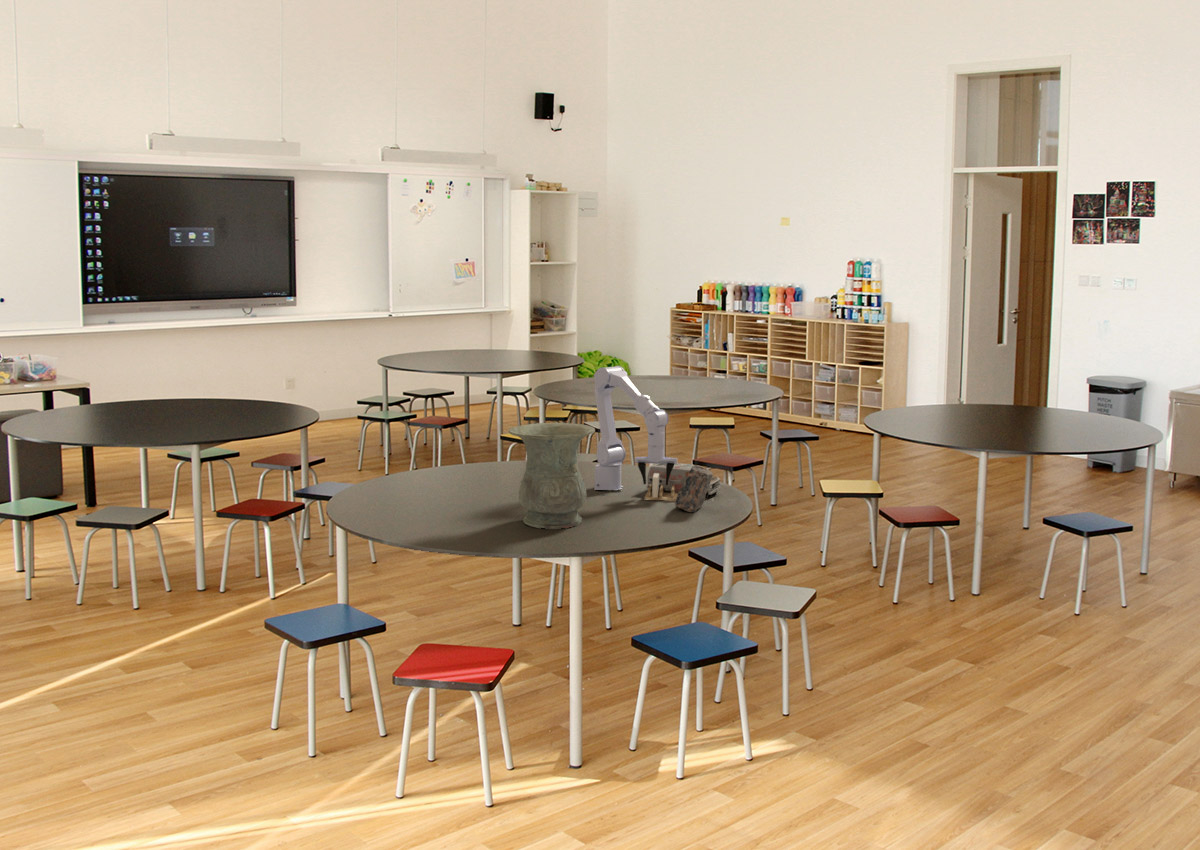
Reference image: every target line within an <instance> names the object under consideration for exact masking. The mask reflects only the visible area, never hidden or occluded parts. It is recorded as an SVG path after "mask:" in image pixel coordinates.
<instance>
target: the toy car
mask: <svg viewBox="0 0 1200 850" xmlns="http://www.w3.org/2000/svg"><path fill="white" fill-rule="evenodd" d="M666 465H667V464H655V463H653V464H651V465H650V466H649V471H648V473H647V475H646V486H645V487H646V489H648V488H649V485H650V484H652V490H653V475H654V473H659V492H660V487H661V484H663V485H664V490H663V493H666V492H671V489H672V486H673V485H675V493H678V492H679V490H680V489H681V487H682V485H683V483H684V481H685V479H686V478H687V476H688V474H689V472H690V470H691V468H692V466H694V465H695V464H690V463H680V462H677V464H674V467H673V469H672V471H671V474H670V476H669V481H668V485H666ZM720 484H721V478H720V477H718V476H712V479H711V482H710V484H709V487H708V489H707V493H706V495H705V498H706V499H709V495H710V496H711V495H713V494H714V495H715V494H717V493H718V491H719V490H720V488H721V485H720Z"/></svg>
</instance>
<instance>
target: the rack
mask: <svg viewBox="0 0 1200 850" xmlns="http://www.w3.org/2000/svg"><path fill="white" fill-rule="evenodd" d="M652 490H653V489H652V484H650V485H649V488H647V492H646V493H645V495H644V500H645V499H648V500H669V501H668V502H675V501H676V499H677V495H678V492H675V485H673V486H672V489H671V491H670V492H665V493H663V490H664V485H663V484H661V487H660V492H659V495H658V498H656V497H652Z"/></svg>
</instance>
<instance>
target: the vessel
mask: <svg viewBox="0 0 1200 850" xmlns="http://www.w3.org/2000/svg"><path fill="white" fill-rule="evenodd" d="M595 432H596V429H595V427H593V426H590V425H588V424H582V423H570V422H568V423H567V422H539V423H537V422H536V423H532V424H531V423H530V424H522V425H516V426H513V427H510V428H508V433H509V434H510V435H512V436H515V437H518V438H520V440H522V442H523V445H524V447H525V452H526V464H525V471H524V473H523V474H524V475H523V477H522V479H521V480H520V486H519V490H518V501H519V503H520V504H521V506H522V507H523V508H524V509H525V510H527V513H526V515H524V517H522V519H523V520H522V521H523V524H525V525H526V526H528V527H531V528H532V527H533V528H536V529H541V528H545V529H544V530H562V529H561V528H565V529H570V528H569V527H571V528H574V527H573V526H575V527H577V525H578V526H580V525H581V524H582V523H583V518H582V516H581V515H580V514H578V513H579V512H578V510H579V509H581V508H582V507H583V506H584V505H585V504H586V501H587V496H588V495H587V489H586V484H585V480H584V479H583V477H582V475H581V472H580V469H579V462H578V451H579V446H580V444H581V443H580V442H582V440H583V439H584V438H585V437H587V436H590V435H592V434H594V433H595ZM581 522H582V523H581ZM580 523H581V524H580ZM579 524H580V525H579Z"/></svg>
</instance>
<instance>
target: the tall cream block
mask: <svg viewBox="0 0 1200 850" xmlns="http://www.w3.org/2000/svg"><path fill="white" fill-rule="evenodd" d="M658 495H659V473H654V475H653V489H652V497H656V498H658Z"/></svg>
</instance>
